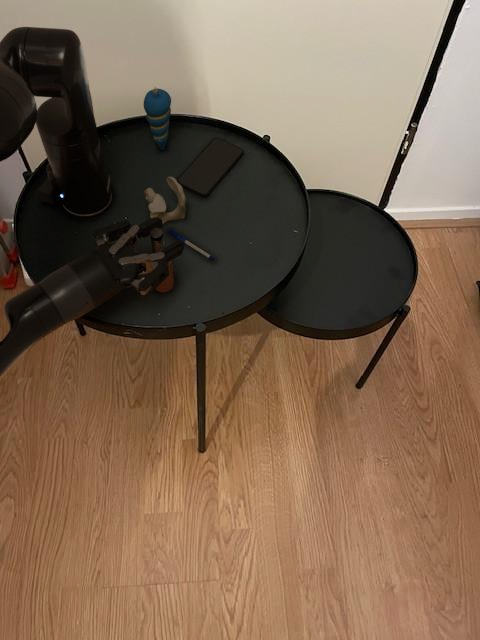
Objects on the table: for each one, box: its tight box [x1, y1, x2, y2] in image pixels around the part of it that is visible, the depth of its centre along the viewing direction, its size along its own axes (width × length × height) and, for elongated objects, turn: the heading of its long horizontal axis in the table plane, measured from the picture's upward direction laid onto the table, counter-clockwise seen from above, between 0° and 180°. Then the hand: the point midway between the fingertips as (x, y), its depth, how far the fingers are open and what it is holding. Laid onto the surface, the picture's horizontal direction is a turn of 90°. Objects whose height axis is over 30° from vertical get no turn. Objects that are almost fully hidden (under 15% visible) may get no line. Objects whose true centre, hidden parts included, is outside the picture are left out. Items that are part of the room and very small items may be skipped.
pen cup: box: [150, 252, 175, 293], centre depth 94 cm, size 4×4×7 cm
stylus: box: [149, 228, 166, 254], centre depth 90 cm, size 2×2×14 cm
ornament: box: [143, 87, 172, 151], centre depth 107 cm, size 5×5×15 cm
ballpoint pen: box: [167, 229, 215, 261], centre depth 101 cm, size 10×1×1 cm, turn 55°
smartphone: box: [176, 137, 245, 198], centre depth 111 cm, size 7×1×15 cm
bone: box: [143, 176, 187, 225], centre depth 101 cm, size 9×6×10 cm
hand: (171, 232), depth 87 cm, fingers open, 5 cm apart
